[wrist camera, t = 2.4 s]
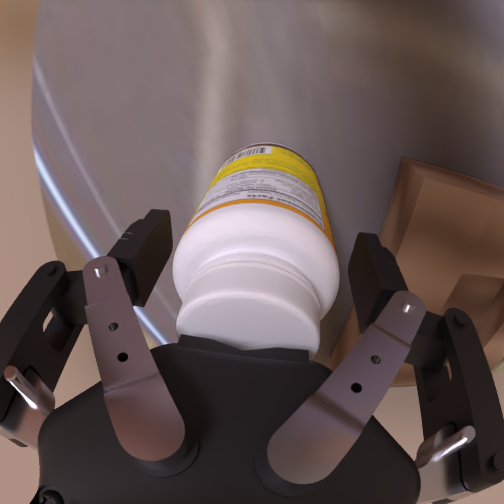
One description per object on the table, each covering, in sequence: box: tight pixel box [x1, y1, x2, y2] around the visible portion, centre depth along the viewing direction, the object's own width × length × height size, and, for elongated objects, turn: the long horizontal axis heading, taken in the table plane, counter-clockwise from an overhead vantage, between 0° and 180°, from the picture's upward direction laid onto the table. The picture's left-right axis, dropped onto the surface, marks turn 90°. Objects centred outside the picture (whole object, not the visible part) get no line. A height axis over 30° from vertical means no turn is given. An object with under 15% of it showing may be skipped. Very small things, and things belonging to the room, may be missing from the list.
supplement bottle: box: [173, 143, 340, 360], centre depth 12 cm, size 6×6×10 cm
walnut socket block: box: [330, 157, 504, 386], centre depth 17 cm, size 18×18×3 cm
